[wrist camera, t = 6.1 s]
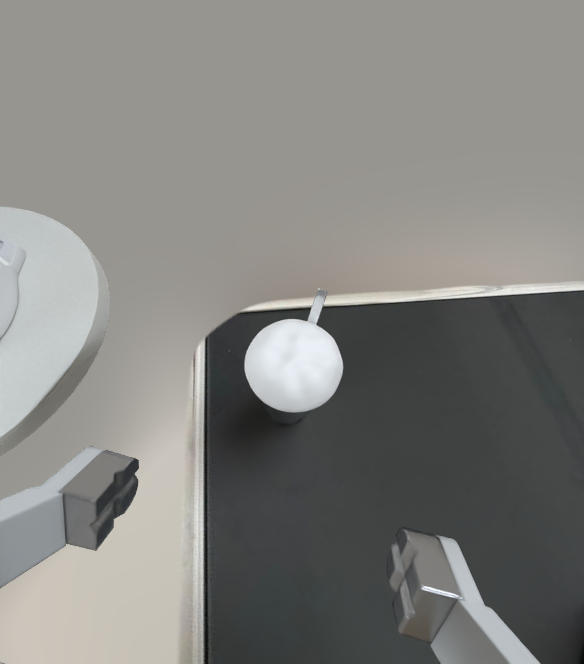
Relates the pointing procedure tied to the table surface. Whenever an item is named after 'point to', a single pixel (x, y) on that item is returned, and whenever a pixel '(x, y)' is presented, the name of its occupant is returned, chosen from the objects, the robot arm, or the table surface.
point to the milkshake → (294, 366)
